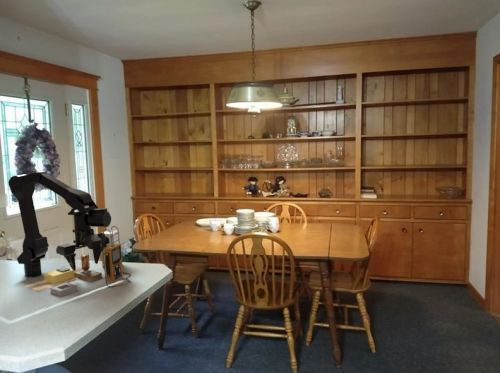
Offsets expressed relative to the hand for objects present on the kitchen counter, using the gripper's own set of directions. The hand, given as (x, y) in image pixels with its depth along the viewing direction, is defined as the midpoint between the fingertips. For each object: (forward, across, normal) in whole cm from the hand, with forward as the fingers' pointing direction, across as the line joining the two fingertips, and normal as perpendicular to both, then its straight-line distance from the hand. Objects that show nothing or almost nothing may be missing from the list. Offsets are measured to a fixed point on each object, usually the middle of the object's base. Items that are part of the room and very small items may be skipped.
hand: (85, 267), depth 146 cm
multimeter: (+5, +6, -14) cm, 16 cm away
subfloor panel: (+4, -10, +6) cm, 12 cm away
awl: (+4, 0, 0) cm, 5 cm away
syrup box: (+5, +15, +5) cm, 16 cm away
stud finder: (+4, -7, +6) cm, 10 cm away
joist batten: (+4, 0, +2) cm, 5 cm away
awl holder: (+4, -13, -7) cm, 15 cm away
